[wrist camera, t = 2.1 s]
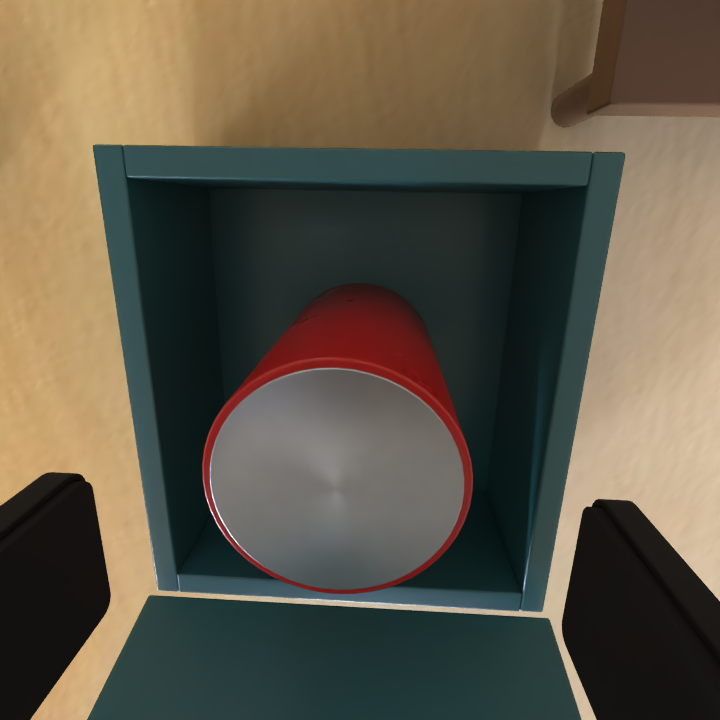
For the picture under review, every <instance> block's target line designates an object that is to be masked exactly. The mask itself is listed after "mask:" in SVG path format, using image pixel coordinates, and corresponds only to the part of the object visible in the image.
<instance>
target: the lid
mask: <svg viewBox="0 0 720 720" xmlns="http://www.w3.org/2000/svg"><path fill="white" fill-rule="evenodd" d="M87 720H581V717H580V714H579V710H578V707H577V704H576V701H575V698H574V695H573V692H572V688H571V685H570V682H569V679H568V676H567V673H566V670H565V666H564V663H563V660H562V657H561V654H560V651H559V648H558V645H557V641H556V638H555V635H554V632H553V629H552V626H551V623H550V620H549V619H548V618H533V617H516V616H498V615H481V614H464V613H447V612H429V611H412V610H395V609H378V608H360V607H343V606H326V605H309V604H292V603H274V602H257V601H240V600H223V599H205V598H188V597H171V596H154V595H151V596H149V597H148V599H147V601H146V603H145V605H144V607H143V609H142V611H141V613H140V615H139V617H138V619H137V621H136V623H135V625H134V627H133V629H132V631H131V633H130V635H129V637H128V639H127V641H126V643H125V645H124V647H123V649H122V651H121V653H120V655H119V657H118V659H117V661H116V663H115V665H114V667H113V669H112V671H111V673H110V675H109V677H108V679H107V681H106V683H105V685H104V687H103V689H102V691H101V693H100V695H99V697H98V699H97V701H96V703H95V705H94V707H93V709H92V711H91V713H90V715H89V717H88V719H87Z"/></svg>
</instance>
